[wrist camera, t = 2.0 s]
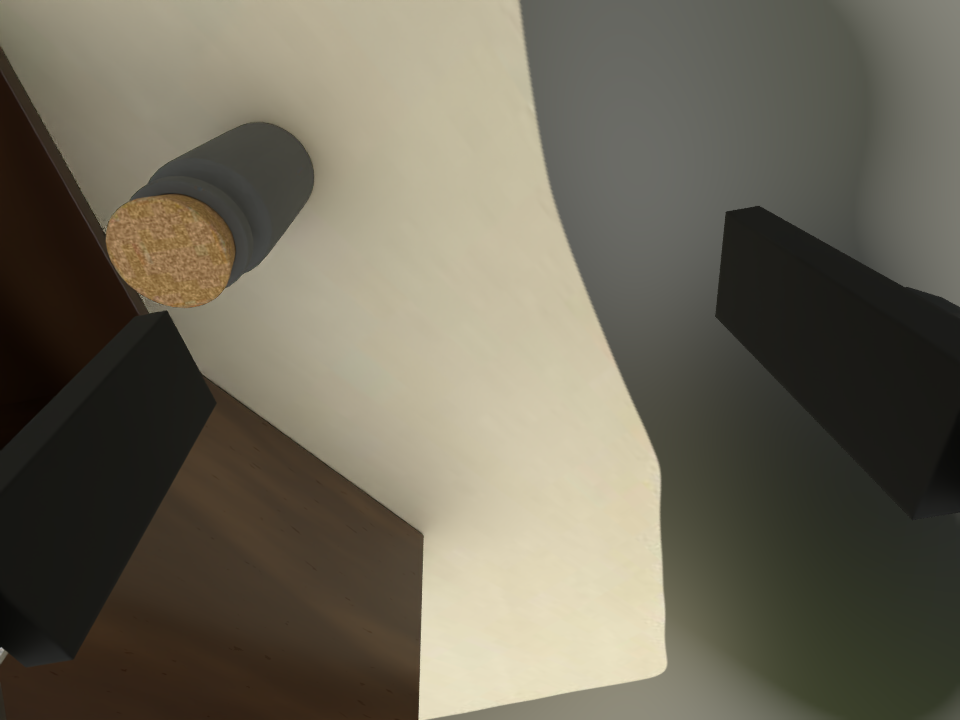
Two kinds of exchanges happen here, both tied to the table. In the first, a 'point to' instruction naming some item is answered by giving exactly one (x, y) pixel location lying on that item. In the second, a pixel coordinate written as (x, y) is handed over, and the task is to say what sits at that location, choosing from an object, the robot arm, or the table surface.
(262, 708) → the cupboard door
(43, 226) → the cupboard
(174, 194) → the bottle
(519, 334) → the table surface
